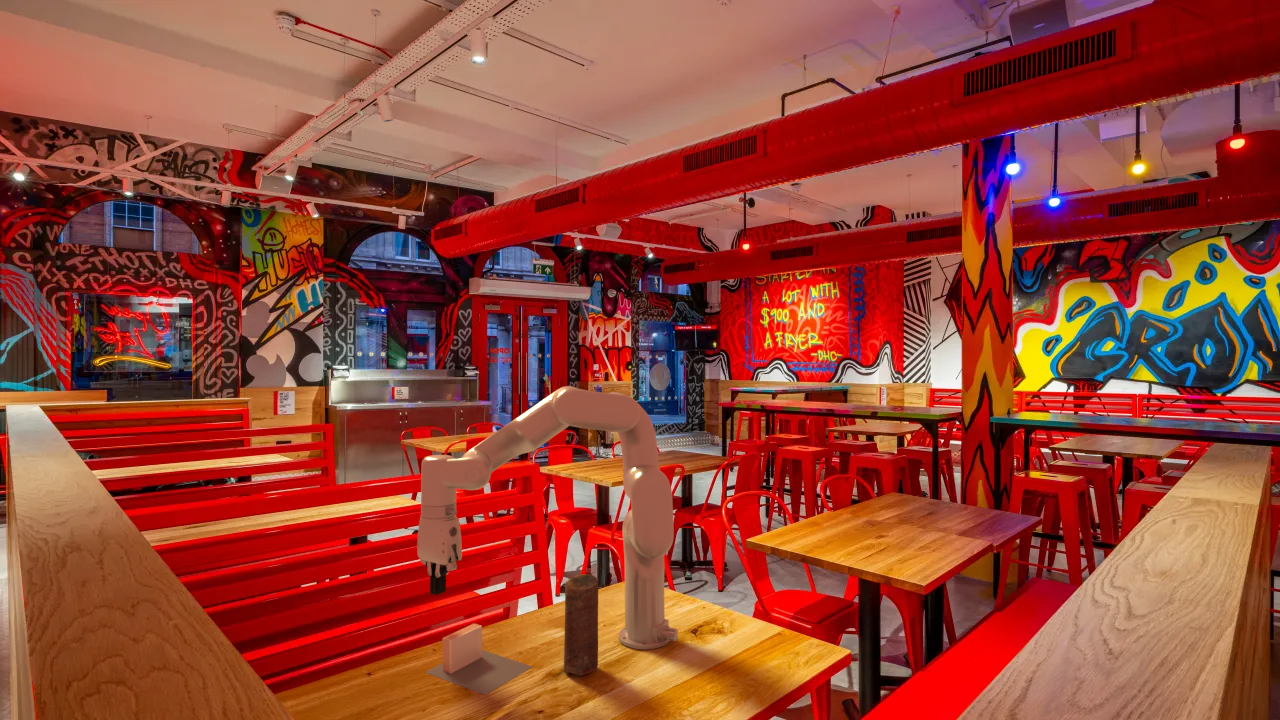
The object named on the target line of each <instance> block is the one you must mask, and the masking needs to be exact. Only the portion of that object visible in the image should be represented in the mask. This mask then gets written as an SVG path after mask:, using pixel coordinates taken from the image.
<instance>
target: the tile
mask: <svg viewBox="0 0 1280 720" xmlns="http://www.w3.org/2000/svg"><path fill="white" fill-rule="evenodd" d="M441 641H442V663H443V671H445V672H448V673H453V672H455V671H457V670H459V669H461V668H462V667H464V666H466V665H468V664H470V663H472V662H474V661H476V660H477V659H479V658H481V657H482V650H483V626H482V625H480V624H478V623H471V624H470V625H468V626H466V627H464V628H460V629H459V630H457V631H455V632H453V633H450V634H448V635H446V636H444V637H442V640H441Z"/></svg>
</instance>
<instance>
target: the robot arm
mask: <svg viewBox="0 0 1280 720" xmlns="http://www.w3.org/2000/svg"><path fill="white" fill-rule="evenodd" d="M568 427H575V428H581V429H589V430H595V431H596V430H597V431H604V432H605V431H607V432H613V433H617V434H618V438H619V440H620V445H621V455H622V456H621V457H622V473H623V474H622V479H623V480H622V487H623V491H624V492H625V495H626V496H627V497H628V498H629V499H630V503H631V509H629V511H628V512H627V513H626V514H625V516H624V518H623V522H622V541H623V553H624V554H623V555H624V557H623V558H624V627H623V628H622V629H620V631H619V632H618V640H619V642H620V643H621V644H622V645H624V646H625V647H628V648H631V649H635V650H654V649H659V648H662V647H664V646H666V645H667V644H669V643H670V642H671V641H672V642H677V641H678V637H679V629H678V628H674V627H670V626H669V625H670V624H669V619H666V618H665V617H666V616H665V613H666V612H665V555H666V554H667V553H668V552H669V551H670V550H671V547H672V545H673V542H674V535H675V533H674V532H675V530H674V529H675V528H674V525H675V524H674V523H675V522H674V507H673V505H674V504H673V494H672V493H673V492H672V486H671V484H670V480H669V479H668V477H667V475H666V474H665V473H664V472H662V471H661V469H660V466H659V453H658V452H659V451H658V443H657V435H656V431H655V427H654V424H653V422H652V420H651V418H650V416H649V414H648V413H647V411H646V410H645V409H644V408H643V407H642V406H641V405H640V404H639V403H638V402H637V400H635V399H634V398H633V397H632V396H629V395H628V394H625V393H622V392H617V391H611V392H602V391H601V392H600V391H593V390H587V389H582V388H577V387H574V386H572V385H567V386H566V385H565V386H562V387H560V388H558V389H556V390H555V391H553V392H552V393H550V394H549V395H548V396H546V397H545V398H543V399H542V400H540V401H539V402H538V403H536V404H535V405H533V406H532V407H530V408H529V409H527V410H526V411H524V412H523V413H522V414H520V415H518V417H516V418H514V419H513V420H511V421H510V422H509V423H507V424H506V425H504V426H503V427H502V428H500V429H498V430H496V432H494V433H492V434H490V435H489V436H488V437H486V438H485V439H484V440H482V441H481V442H479V443H478V444H477V445H475V446H473V447H472V448H471V449H469V450H468V451H466V452H465V453H464V454H463V455H462V456H461V458H460V457H459V458H455V457H454V456H452V455H448V454H433V455H428V456H425V457H424V458H423V459H422V461H421V466H420V467H421V469H420V472H421V474H420V475H421V477H420V479H421V481H420V482H421V483H420V491H421V495H420V503H421V504H420V518H419V522H418V523H419V524H418V530H417V541H416V542H417V543H416V549H417V550H416V552H417V556H418V558H419V559H420V560H419V561H420V563H421V564H423V565H425V566H426V568H427V574H428V576H429V593H430V594H431V595H434V596H438V595H441V594H443V593H445V592H446V591H447V575H449V572H450V571H451V572H452V571H455V570H457V567H458V565H457V562H460V561H461V560H462V558H463V556H462V555H463V551H462V550H463V548H462V547H463V546H462V532H461V526H460V520H459V517H457V513H458V510H457V490H458V489H459V490H467V491H475V490H476V491H477V490H480V489H482V488H484V487H485V486H486V485H487V484H488V483H489V481H490V479H491V475H492V473H494V471H496V470H497V469H499V468H500V467H501V466H503V465H504V464H506V463H507V462H509V461H511V460H512V459H514V458H516V457H518V456H520V455H523V454H527V453H528V454H529V453H530V452H531V453H532V452H533V451H536V450H537V449H539V448H540V447H541V446H543V445H544V444H546V443H547V442H549V440H552V438H554V437H555V436H556V435H558V434H559V433H561V432H563V431H564V430H565V429H567V428H568Z"/></svg>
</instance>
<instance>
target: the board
mask: <svg viewBox="0 0 1280 720" xmlns="http://www.w3.org/2000/svg"><path fill="white" fill-rule="evenodd" d="M532 668H533V666H532V665H528V664H527V663H523V662H520V661H516V660H514V659H512V658H511V659H510V658H508V657H505V656H502V655H499V654H496V653H492V652H490V651H486V650H484V649H482V657H481V658H479V659H477V660H476V661H474V662H472V663H470V664H468V665H466V666H464V667H462V668H461V669H459V670H457V671H455V672H453V673H448V672H445V671H443V662H442V663H441V664H438V665H436V666H435V667H432V668H430V669H428V670H426V671H425V672H424V673H425V674H427V675H430V676H433V677H435V678H438V679H441V680H444V681H446V682H449V683H452V684H453V685H454V684H455V685H457V686H460V687H462V688H465V689H468V690H471V691H473V692H476V693H478V694H481V695H484V696H487V695H489V694H490V693H492V692H493V691H495V690H497V689H499V688H500V687H502V686H503V685H505V684H507V683H509V682H510V681H512V680H513V679H515V678H517V677H518V676H520V675H522V674H524V673H525V672H526V671H528V670H530V669H532Z"/></svg>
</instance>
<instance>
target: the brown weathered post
mask: <svg viewBox="0 0 1280 720" xmlns="http://www.w3.org/2000/svg"><path fill="white" fill-rule="evenodd" d="M564 584H565V587H564V591H565V592H564V594H565V595H564V641H563V642H564V643H563V644H564V646H563V647H564V648H563V649H564V650H563V669H564V671H565V672H566V673H571V674H573V675H574V676H578V677H581V676H585V675H587V674H589V673H591V672H593V671H596V670H597V669H598V666H599V579H598V578H597V576H595V575H593V574H584V573H583V574H582V573H581V574H577V575H574V576H572V577H570V578H569V579H567V580H566V581H565V582H564Z"/></svg>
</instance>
